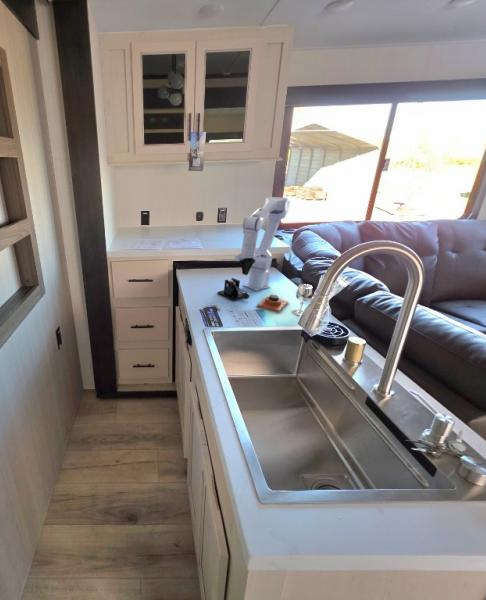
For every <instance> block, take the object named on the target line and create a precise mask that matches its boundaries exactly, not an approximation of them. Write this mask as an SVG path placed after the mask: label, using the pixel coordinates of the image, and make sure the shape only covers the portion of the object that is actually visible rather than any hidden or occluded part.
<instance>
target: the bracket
mask: <svg viewBox="0 0 486 600" xmlns="http://www.w3.org/2000/svg"><path fill="white" fill-rule="evenodd" d="M230 280H233V281H235V282H236V283H237V284H236V286H237V287H239V288H240V283H241V280H239V279H237V278H234V277H232V278H231V279H230ZM230 280H229V279H224V284H223V285H224V287H223V290H219V291H217V295H219V296H221V297H224V298H226V299H228V300H230V301H232V302H234V301H235V302H236V301H239V300H242V299H244V298H243V297H242V294H241V293H240V292H238V291H237V290H236V289H235V288H233V283H234V282H231V281H230Z"/></svg>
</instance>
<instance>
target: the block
mask: <svg viewBox="0 0 486 600" xmlns="http://www.w3.org/2000/svg"><path fill="white" fill-rule="evenodd" d="M269 297H270V295H268V296H267V295H266V297H265V298H263V299H262V300H261V301H260V302H259V303H258V304H257V308H260V309H263V310H267V311H271V312H275V313H280V312H281V311H282V310H283V309H284V308H285V307H286V306H287V305H288V303H289V300H285V299H282V298H280V297H279V298H278V301H271V300H269Z"/></svg>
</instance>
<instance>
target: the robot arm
mask: <svg viewBox="0 0 486 600" xmlns="http://www.w3.org/2000/svg"><path fill="white" fill-rule="evenodd" d="M290 203H291V202H290V198H289V197H279V196H278V197H277V196H267V197H266V199H265V201H264V205H263V207H258V209H257V210H255V211H254V212H253V213H252V214H251V215H248V216H246V217H244V219H243V222H242V234H243V238H242V240H243V241H242V247H241V253H239V254H237V255H234V258H233V261H234V262H235V261H236V262H239V263H240V267H241V274H242V275H245V276H248V275H249V276H248V283H246V284H243V286H244V287H246V288H249V289H251V290H254V291H260V290H264V289H267V288H270V285H269V281H270V277H271V273H270V271H269V270H270V268H271V266H272V261H273V256H272V254H271V252H270V249H271V247H272V244H273V241H274V238H275V236H276V233H277V231H278V228H279V227H280V223H281V221H282V219H284V218H286V215H288V212H289V209H290ZM268 218H269V220H268ZM266 220H268V223H267V225H266V228H265V230H264V233H263V236H262V238H261V241H260V243H259V246H258V248H257V242H258V236H259V232H260V230H261V229H262V227H263V224H264V222H265V221H266Z"/></svg>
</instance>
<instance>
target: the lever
mask: <svg viewBox="0 0 486 600" xmlns="http://www.w3.org/2000/svg"><path fill="white" fill-rule="evenodd" d="M229 281H231V282H234V283H233V288H235V289H236V290H237V291H238V293H239V294H242V297H243V298H242V299H244V300H248V299H250V294H249V292H246V291H245V292H244V290H243V289H241V288H240V286H239V287H237V286H236V284H237V283H236V282H235V281H233V280H231V279H230V280H229Z"/></svg>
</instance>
